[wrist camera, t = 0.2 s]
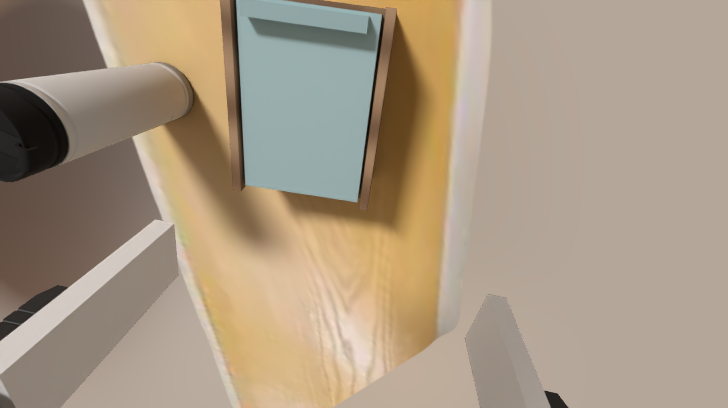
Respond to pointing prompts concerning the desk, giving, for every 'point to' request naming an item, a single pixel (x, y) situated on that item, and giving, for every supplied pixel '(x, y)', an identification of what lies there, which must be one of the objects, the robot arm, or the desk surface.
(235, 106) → the box
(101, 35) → the desk surface
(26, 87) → the travel mug
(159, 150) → the desk surface
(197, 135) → the desk surface
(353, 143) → the cover plate
